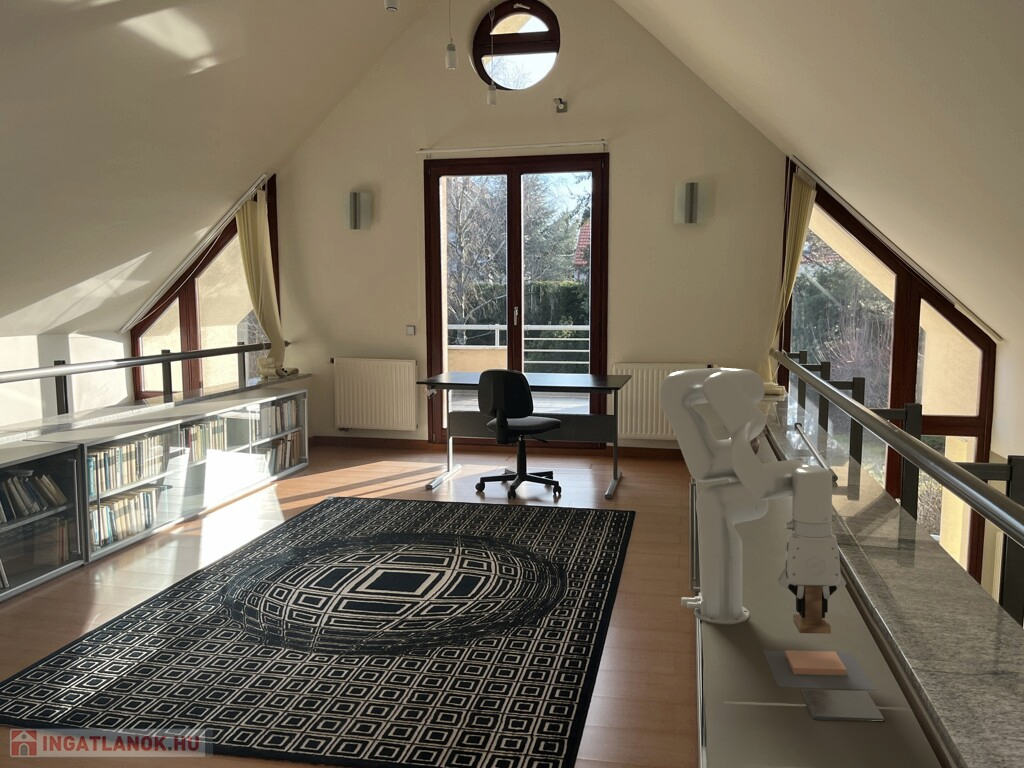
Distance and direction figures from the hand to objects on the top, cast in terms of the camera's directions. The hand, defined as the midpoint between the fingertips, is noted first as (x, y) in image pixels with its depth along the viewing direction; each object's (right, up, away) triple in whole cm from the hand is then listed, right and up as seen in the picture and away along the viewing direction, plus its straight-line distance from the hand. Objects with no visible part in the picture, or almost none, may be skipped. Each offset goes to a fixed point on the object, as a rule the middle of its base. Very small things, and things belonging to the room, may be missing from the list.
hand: (811, 614), depth 165 cm
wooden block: (0, -3, 0) cm, 3 cm away
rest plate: (-1, -12, -17) cm, 21 cm away
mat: (0, -10, -4) cm, 11 cm away
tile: (0, -9, +2) cm, 9 cm away
